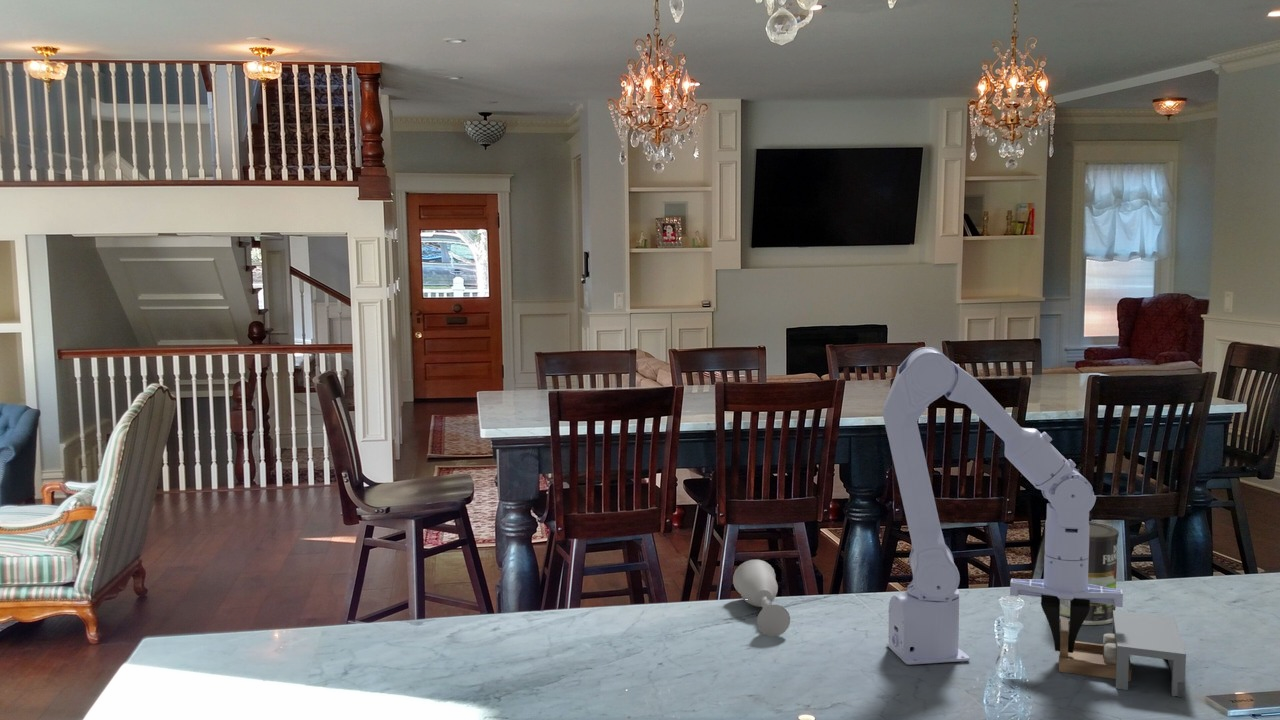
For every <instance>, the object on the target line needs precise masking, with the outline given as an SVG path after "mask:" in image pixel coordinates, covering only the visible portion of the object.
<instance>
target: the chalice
mask: <svg viewBox="0 0 1280 720" xmlns="http://www.w3.org/2000/svg"><path fill="white" fill-rule="evenodd" d="M776 576H777V575H776V573H775V569H774V567H772V565H771V564H769V563H768V562H767V561H765V560H761V559H749V560H746V561H744V562H743V563H741V564H739V566H738V567H736V569H735V571H734V573H733V575H732V584H733V587H734V588H735V590H736V591H737V593H739V594H740V595H741V598H742V599H743V600H744V599H748V600H744V602H746V603H747V604H749V605H751V606H754V607H758V608H760V607H761V610H760V612H759V613H758V615H757V618H756V624H757V627H758V629H759V631H760V632H761V633H762V634H764V635H765V636H768V637H777V636H781V635H782V634H784V633H785V632H786V631H787V630H788V629H789V626H790V623H791V616H790V613H789V611H788V610H787V609H786V608H785V607H783V606H782V605H779V604H772V603H773V602H774V600H775V598H776V596H777V595H778V590H779V585H778V582H777V580H776V578H777V577H776Z"/></svg>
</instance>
